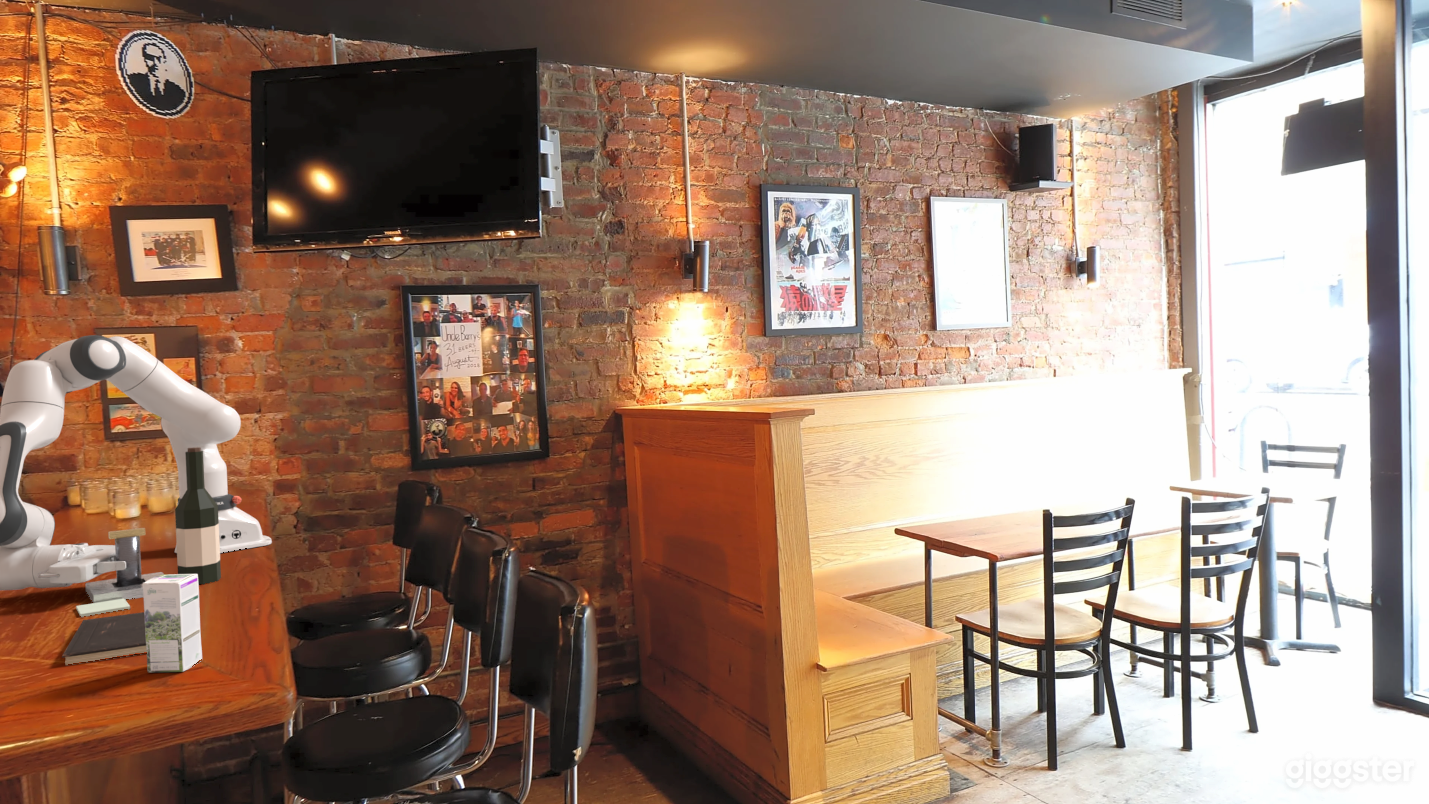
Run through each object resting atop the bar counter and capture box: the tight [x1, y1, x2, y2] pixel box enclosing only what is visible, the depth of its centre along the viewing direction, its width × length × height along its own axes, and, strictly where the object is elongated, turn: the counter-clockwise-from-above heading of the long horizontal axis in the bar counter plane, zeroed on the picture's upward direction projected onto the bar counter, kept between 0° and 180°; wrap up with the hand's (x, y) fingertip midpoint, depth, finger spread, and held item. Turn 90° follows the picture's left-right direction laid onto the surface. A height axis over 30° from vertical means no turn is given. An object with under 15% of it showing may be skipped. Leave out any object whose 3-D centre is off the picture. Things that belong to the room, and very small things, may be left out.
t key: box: [108, 527, 146, 588], centre depth 186 cm, size 6×4×13 cm
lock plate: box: [85, 571, 166, 603], centre depth 186 cm, size 14×14×2 cm
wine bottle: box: [174, 447, 222, 585], centre depth 195 cm, size 8×8×30 cm
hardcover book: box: [61, 611, 147, 666], centre depth 154 cm, size 16×23×2 cm
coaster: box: [75, 598, 131, 618], centre depth 174 cm, size 8×8×1 cm
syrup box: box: [142, 573, 203, 674], centre depth 138 cm, size 6×6×14 cm
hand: (133, 561), depth 186 cm, fingers closed on t key, 4 cm apart
